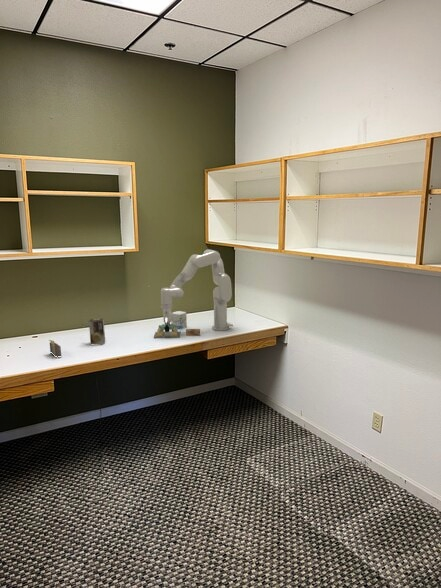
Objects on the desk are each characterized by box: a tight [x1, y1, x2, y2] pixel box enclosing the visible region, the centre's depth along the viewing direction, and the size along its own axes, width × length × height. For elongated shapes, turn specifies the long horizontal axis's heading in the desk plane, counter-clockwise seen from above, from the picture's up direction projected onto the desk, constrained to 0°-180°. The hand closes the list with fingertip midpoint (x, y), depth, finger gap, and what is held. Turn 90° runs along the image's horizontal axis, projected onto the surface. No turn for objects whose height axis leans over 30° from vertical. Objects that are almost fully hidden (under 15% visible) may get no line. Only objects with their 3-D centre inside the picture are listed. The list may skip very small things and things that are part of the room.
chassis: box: [153, 327, 182, 339], centre depth 298 cm, size 18×12×6 cm, turn 92°
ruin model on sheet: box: [48, 339, 62, 357], centre depth 258 cm, size 11×3×10 cm, turn 41°
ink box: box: [170, 310, 188, 330], centre depth 318 cm, size 8×8×12 cm
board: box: [158, 323, 176, 331], centre depth 298 cm, size 12×7×2 cm, turn 92°
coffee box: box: [88, 318, 106, 345], centre depth 281 cm, size 9×6×16 cm
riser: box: [185, 328, 201, 337], centre depth 299 cm, size 10×4×4 cm, turn 92°
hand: (167, 330), depth 298 cm, fingers closed on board, 6 cm apart
